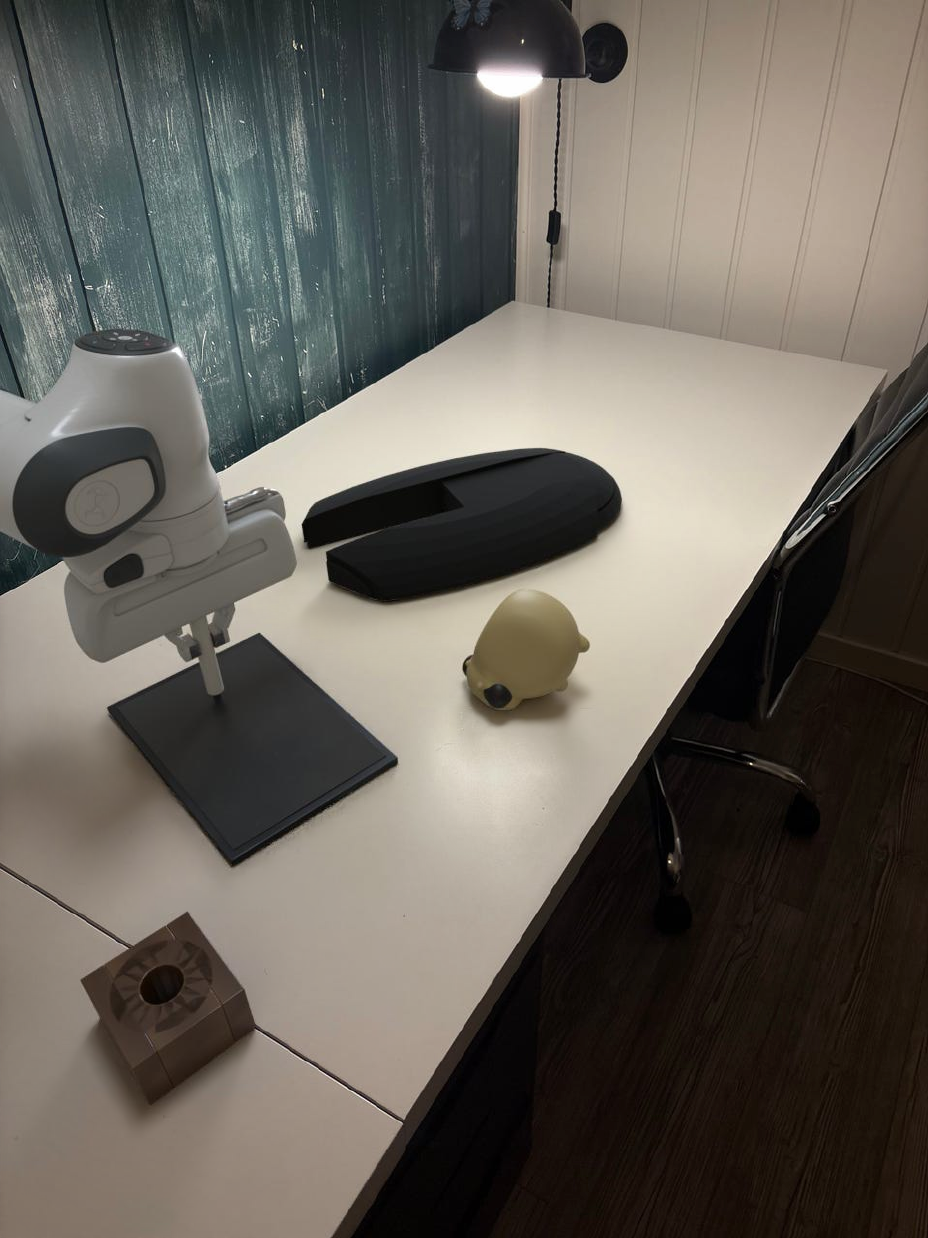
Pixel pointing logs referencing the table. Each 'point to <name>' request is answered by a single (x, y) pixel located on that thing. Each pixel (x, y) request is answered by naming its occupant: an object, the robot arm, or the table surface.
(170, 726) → the tablet
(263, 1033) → the table surface
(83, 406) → the robot arm
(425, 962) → the table surface
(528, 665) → the toy pig
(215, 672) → the stylus
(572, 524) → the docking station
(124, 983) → the pen block
